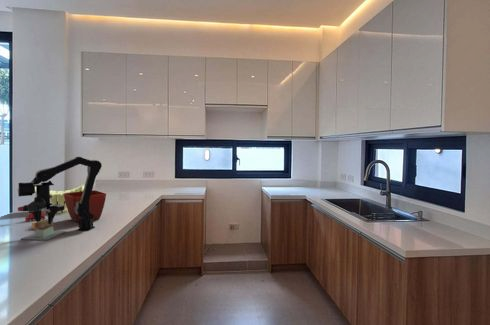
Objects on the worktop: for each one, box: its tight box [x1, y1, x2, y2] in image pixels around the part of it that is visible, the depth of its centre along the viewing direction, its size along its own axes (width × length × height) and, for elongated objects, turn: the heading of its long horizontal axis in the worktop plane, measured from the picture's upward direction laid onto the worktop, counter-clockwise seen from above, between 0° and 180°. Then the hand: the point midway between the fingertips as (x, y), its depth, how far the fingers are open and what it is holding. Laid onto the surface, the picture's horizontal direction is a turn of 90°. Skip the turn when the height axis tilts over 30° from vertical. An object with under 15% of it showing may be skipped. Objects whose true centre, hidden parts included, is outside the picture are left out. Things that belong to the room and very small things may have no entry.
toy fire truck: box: [17, 205, 46, 222], centre depth 184 cm, size 3×14×10 cm, turn 141°
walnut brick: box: [34, 218, 54, 231], centre depth 154 cm, size 4×7×4 cm, turn 176°
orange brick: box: [31, 220, 42, 230], centre depth 170 cm, size 4×7×4 cm, turn 172°
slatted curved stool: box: [34, 183, 85, 214], centre depth 212 cm, size 30×16×18 cm, turn 113°
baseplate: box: [20, 226, 67, 242], centre depth 155 cm, size 14×14×4 cm
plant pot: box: [64, 189, 107, 224], centre depth 188 cm, size 19×19×17 cm
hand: (44, 224), depth 154 cm, fingers open, 6 cm apart
